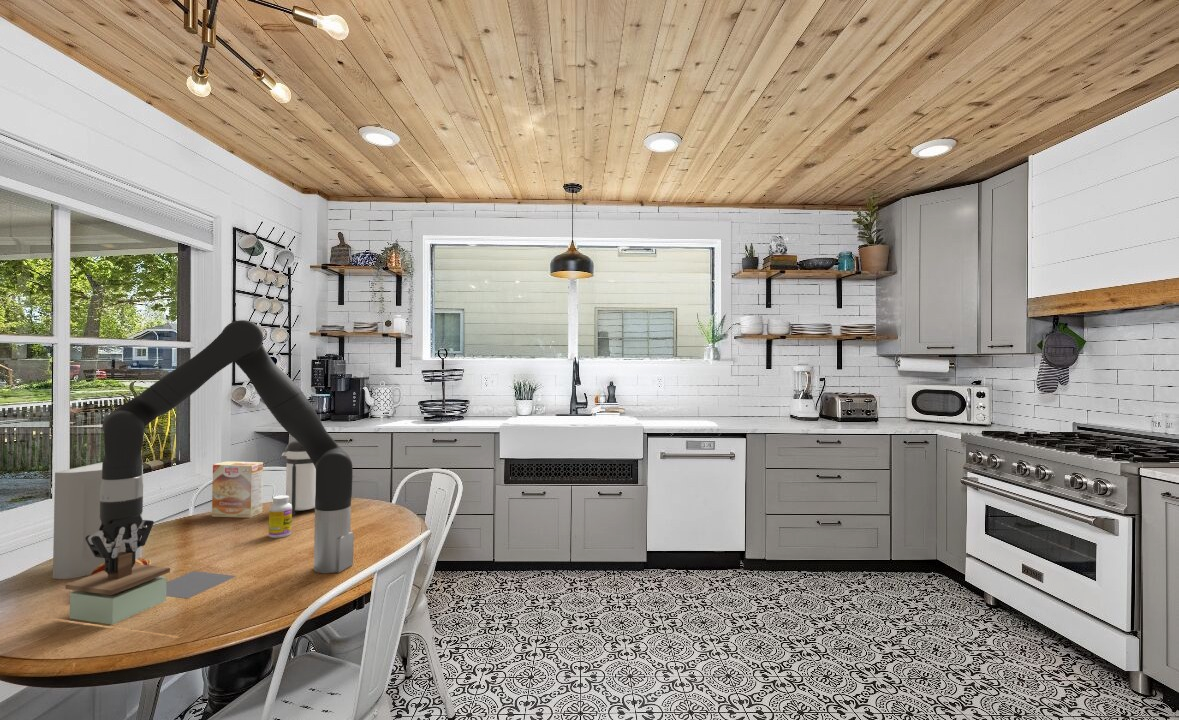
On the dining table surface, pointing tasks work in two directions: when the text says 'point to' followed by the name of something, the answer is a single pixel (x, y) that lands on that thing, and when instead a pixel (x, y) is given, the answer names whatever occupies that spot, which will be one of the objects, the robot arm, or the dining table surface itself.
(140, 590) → the green box
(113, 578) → the lid
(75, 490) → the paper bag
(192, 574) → the plate
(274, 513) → the supplement bottle
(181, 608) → the dining table surface
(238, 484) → the coffeecake box
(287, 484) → the coffee press
